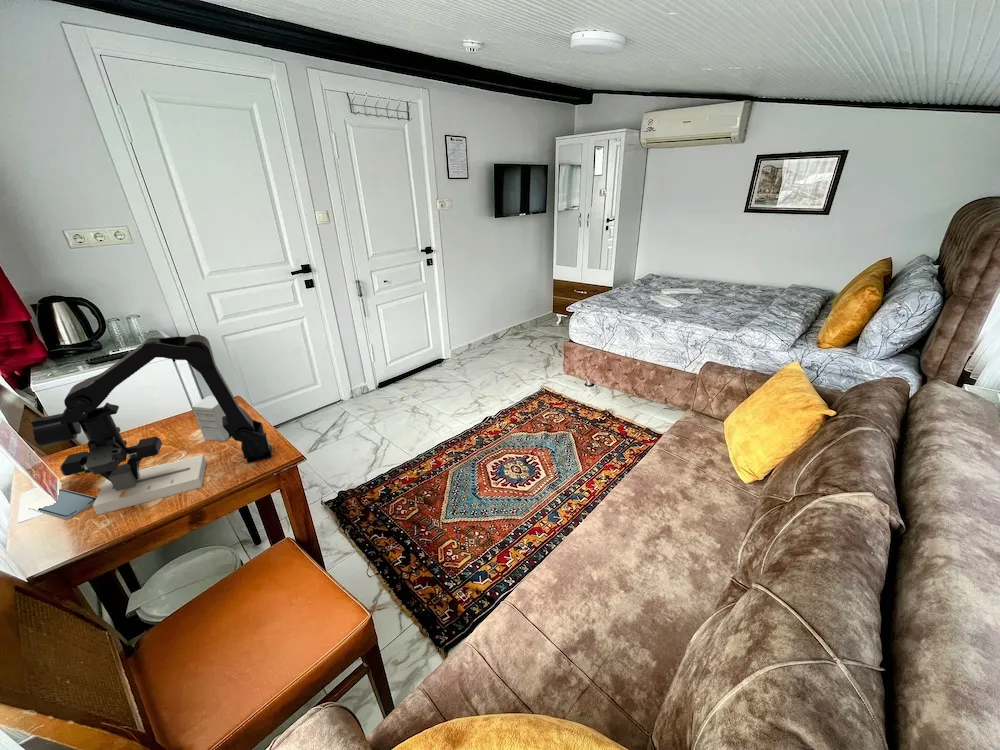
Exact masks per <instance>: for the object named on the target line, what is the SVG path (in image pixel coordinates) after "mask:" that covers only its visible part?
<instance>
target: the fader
mask: <svg viewBox="0 0 1000 750" xmlns="http://www.w3.org/2000/svg"><path fill="white" fill-rule="evenodd" d="M139 476H140V474H139ZM109 479H110V481H111V483H112V485H113V486H114V488H115V490H116V491H118V490H122V489H126V488H130V487H134V486H136V483H137V481H138V479H139V478H138V479H136V478H135V477H134V475H133V473H132V470H131V467H130V465H129V464H127V462H126V463H123V464H121V463H120V464H118V468H117V469H116V470H113V471H112V472H111V474H110V476H109Z"/></svg>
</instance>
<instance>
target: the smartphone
mask: <svg viewBox="0 0 1000 750" xmlns="http://www.w3.org/2000/svg"><path fill="white" fill-rule="evenodd" d="M58 490H59V495H58V499H57V501H56V503H54V504H53V505H50V506H45V507H43V508H39V509H38V511H37V512H39V511H40V512H39V513H42V512H43V513H42V514H45V513H46V515H48V514H49V516H52V517H55V518H58V519H59V518H60V519H64V520H70V519H71V518H73V517H75V516H77V515H78V514H80V513H82V512H83V511H84V510H87V509H88V508H90V507H92V506H93V504H94V502H95V500H96V498H97V497H96V496H92V495H88V494H85V493H80V492H76V491H72V490H69V489H64V488H63V489H62V488H59V489H58Z"/></svg>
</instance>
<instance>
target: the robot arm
mask: <svg viewBox="0 0 1000 750" xmlns="http://www.w3.org/2000/svg"><path fill="white" fill-rule="evenodd" d="M155 358H161V359H162V358H163V359H168V360H175V361H187V363H188V364H189V365H190V366H191V367H192V368H193V369H195V370H196V371H197V372H198V373H199V374H200V375H201V377H202V378H203V380H204V382H205V383H206V385H207V387H208V388H209V390H210V392H211V393H212V396H214V397H215V398H216V400H217V402H218V403H219V405H220V407H221V408H222V410H223V412H224V414H225V415H226V416H223V417H222V423H223V427H224V429H225V430H226V431H227V432H228V434H229V438H231V437H232V440H234V441H236V442H241V452H242V454H243V457H244V459H246V463H247V464H250V463H253V462H258V461H261V460H265V459H269V458H271V457H272V445H271V444H270V441H269V438H268V435H267V432H265V429H264V426H263V423H262V422H260V421H258V420H255V419H253V418H252V417H251V416H250V415H249V413H248V412H247V410H245V409H244V408H242V407H241V406H240V405H239V404H238V403H239V402H238V401H237V399H236V398H235V396H234V395H233V393H232V390H231V389H230V387H229V385H228V384H227V382H226V380H225V378H224V377H223V375H222V373H221V371H220V370H219V368H218V366H217V365H216V360H215V357H214V354H213V350H212V346H211V344H210V341H209V339H208V338H207V337H206V336H204V335H201V334H197V333H196V334H195V333H194V334H190V335H188V336H179V335H178V336H169V337H148V338H146V339H145V340H144V342H143V343H141V344H140V345H138V346H137V347H136V348H135V349H133V350H131V352H129V353H128V354H126V355H125V356H124V357H122V358H121V359H119V360H118V361H117V362H115V363H114V364H113V365H111V366H109V367H108V368H107V369H106V370H104V371H103V372H100V373H99V374H97V375H94V376H91V377H88V378H86V379H84V380H82V381H80V382H78V383H76V384H75V385H73V386H72V387H71V388H70V390H69V391H68V393H67V394H66V396H65V398H64V400H63V401H64V406H65V409H64V410H63V412H62V413H58V414H54V415H53V414H52V415H49V416H39V417H36V418H33V420H32V421H31V426H32V431H33V436H34V437H33V439H34V442H35V443H36V444H37V445H38V446H40V447H43V448H44V447H46V446H51V445H55V444H59V443H64V442H68V441H72V440H76V439H77V437H78V435H79V434H81V433H82V432H83V433H84V435H85V437H86V439H87V440H88V442H87V444H86V445H87V448H88V451H85V450H84V451H81V452H77V453H72V454H68V455H67V456H66V457H65V459H64V461H63V462H62V463H61V465H60V467H59V468H60V472H61V474H62V475H63V476H65V477H68V476H71V475H78V474H77V473H80V472H81V470H82V469H83V467H82V466H84V468H85V473H84V474H91V473H92V474H93V475H100V476H101V477H103V478H104V479H105V480H106V479H108V480H109V481H110V479H109V476H110V474H111V472H112V471H113V470H116V469H117V468H118V465H121V463H124V462H126V461H127V462H126V463H127V464H129V465H130V467H131V470H132V473H133V475H134V477H135V478H136V479H138V478H139V470H140V464H141V461H142V460H143V459H147V458H151V457H155V456H157V455H159V454H160V450H161V448H162V445H163V442H162V440H161V438H160V437H159V436H155V435H154V436H150V437H147V438H141V439H139V442H138V443H136V444H131V446H128V447H127V444H128V442H127V440H126V439H125V440H124V439H123V436H122V435H121V429H120V426H117V425H116V423H115V421H114V418H113V417H112V415H116V414H117V413H118V411H119V409H120V406H119V405H116V404H112V403H109V402H105V404H104V405H103V406H100V405H101V404H102V403H103V402H104V401H105V400H106V399H107V398H108V396H109V395H110V394H111V393H112V391H113V390H114V389H115V388H116V387H118V386H119V385H120V384H122V383H123V382H125V381H127V379H129V378H130V377H131V376H133V375H134V374H135V373H136V372H138V371H139V370H141V369H142V368H143V367H145V366H146V365H148V364H149V363H150V362H152V361H154V359H155ZM99 406H100V407H99ZM229 438H228V439H229ZM127 456H128V457H127ZM127 458H128V459H127Z"/></svg>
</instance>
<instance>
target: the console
mask: <svg viewBox="0 0 1000 750" xmlns="http://www.w3.org/2000/svg"><path fill="white" fill-rule="evenodd" d="M206 467H207V461H206V458H205V455H204V454H200V455H199V454H198V455H195V456H191V457H187V458H182V459H179V460H174V461H170V462H166V463H162V464H157V465H154V466H150V467H145V468H144V467H143V468H139V474H140V476H139V479H138V481H137V483H136V486H134V487H130V488H126V489H122V490H118V491H116V490H115V488H114V486H113V485H112V483H111V481H109V480H108V479H106V478H105V480H104V483H103V485H102V486H101V489H100V490H99V492H98V495H97V498H96V500H95V502H94V504H93V505H92V508H93V509H94V511H95V513H96V514H97V516H98V515H102V514H106V513H110V512H113V511H116V510H122V509H125V508H128V507H132V506H137V505H140V504H144V503H148V502H152V501H155V500H158V499H163V498H166V497H170V496H173V495H178V494H181V493H184V492H188V491H193V490H197V489H201V488H202V487H203V482H204V479H205V478H204V476H205V471H206Z"/></svg>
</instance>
